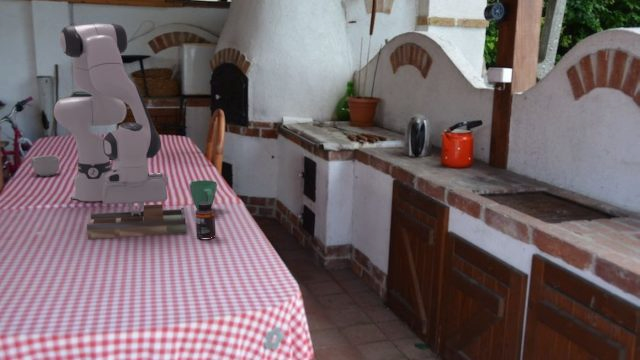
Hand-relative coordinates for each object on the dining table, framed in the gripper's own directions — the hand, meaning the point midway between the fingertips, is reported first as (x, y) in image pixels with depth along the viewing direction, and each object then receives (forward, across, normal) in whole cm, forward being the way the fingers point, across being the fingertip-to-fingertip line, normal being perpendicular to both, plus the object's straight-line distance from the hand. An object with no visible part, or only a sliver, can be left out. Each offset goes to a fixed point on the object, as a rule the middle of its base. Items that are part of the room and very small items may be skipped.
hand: (136, 215), depth 206 cm
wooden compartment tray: (+5, 0, 0) cm, 5 cm away
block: (+2, -5, 0) cm, 6 cm away
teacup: (+5, +43, -92) cm, 102 cm away
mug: (+5, -23, -18) cm, 30 cm away
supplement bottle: (+5, -22, +12) cm, 25 cm away
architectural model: (+5, +10, -95) cm, 96 cm away
